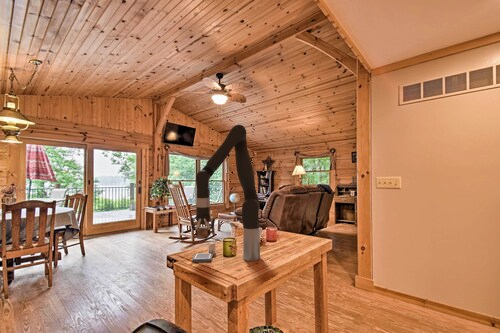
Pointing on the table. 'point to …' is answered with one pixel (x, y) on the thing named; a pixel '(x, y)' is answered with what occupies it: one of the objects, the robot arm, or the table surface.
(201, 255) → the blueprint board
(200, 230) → the walnut cube
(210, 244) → the cream cylinder
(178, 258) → the table surface
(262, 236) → the duck figurine
